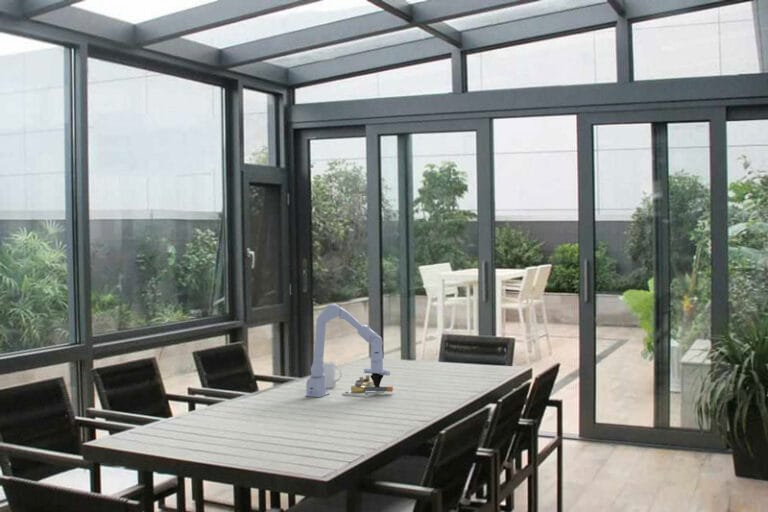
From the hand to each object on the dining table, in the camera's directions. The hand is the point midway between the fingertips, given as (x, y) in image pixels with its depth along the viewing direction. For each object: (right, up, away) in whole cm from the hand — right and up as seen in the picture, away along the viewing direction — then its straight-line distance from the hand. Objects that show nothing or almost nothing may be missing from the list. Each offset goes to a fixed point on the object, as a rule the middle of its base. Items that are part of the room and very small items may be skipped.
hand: (377, 389), depth 421 cm
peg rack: (-6, -2, +20) cm, 21 cm away
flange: (-6, -2, +1) cm, 7 cm away
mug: (-23, -2, +21) cm, 32 cm away
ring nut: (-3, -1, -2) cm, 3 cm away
